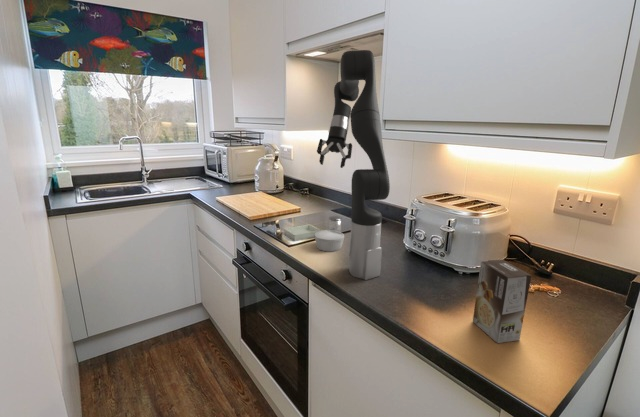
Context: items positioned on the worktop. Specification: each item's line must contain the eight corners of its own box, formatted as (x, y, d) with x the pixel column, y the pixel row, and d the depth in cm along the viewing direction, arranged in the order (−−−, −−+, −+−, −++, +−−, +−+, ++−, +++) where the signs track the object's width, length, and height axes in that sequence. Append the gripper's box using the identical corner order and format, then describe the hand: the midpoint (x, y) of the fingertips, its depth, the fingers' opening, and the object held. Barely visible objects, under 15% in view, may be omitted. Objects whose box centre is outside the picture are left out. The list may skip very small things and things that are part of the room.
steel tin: (343, 237, 142) (344, 218, 140) (333, 239, 140) (333, 220, 137) (336, 233, 146) (336, 215, 144) (326, 235, 144) (326, 217, 142)
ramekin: (348, 245, 134) (348, 232, 132) (337, 255, 124) (337, 241, 122) (321, 240, 138) (322, 228, 137) (309, 249, 128) (309, 236, 127)
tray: (321, 235, 143) (321, 230, 142) (294, 241, 136) (294, 235, 136) (309, 229, 151) (309, 224, 150) (283, 234, 144) (283, 228, 144)
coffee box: (521, 340, 78) (534, 275, 73) (497, 344, 76) (508, 278, 72) (493, 317, 86) (502, 258, 82) (470, 320, 85) (479, 260, 81)
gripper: (320, 123, 142) (313, 161, 140) (354, 127, 139) (347, 166, 137) (324, 129, 149) (316, 165, 148) (356, 133, 146) (349, 170, 145)
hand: (331, 165), depth 142 cm, fingers open, 8 cm apart
